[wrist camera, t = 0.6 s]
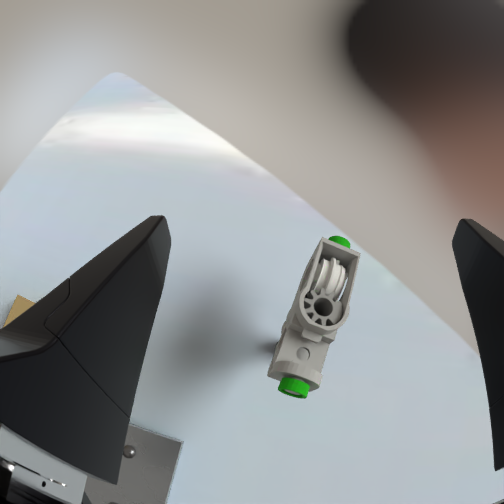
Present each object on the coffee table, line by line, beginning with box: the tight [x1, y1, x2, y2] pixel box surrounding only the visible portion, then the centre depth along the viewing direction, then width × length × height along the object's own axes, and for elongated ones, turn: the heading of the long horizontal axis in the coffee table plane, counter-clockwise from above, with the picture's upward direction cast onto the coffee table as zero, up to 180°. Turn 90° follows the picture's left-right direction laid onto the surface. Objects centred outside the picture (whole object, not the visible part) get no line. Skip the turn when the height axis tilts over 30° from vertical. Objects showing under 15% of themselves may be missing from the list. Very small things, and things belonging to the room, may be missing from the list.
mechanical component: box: [267, 236, 360, 398], centre depth 22 cm, size 3×10×10 cm, turn 159°
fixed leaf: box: [84, 423, 183, 504], centre depth 19 cm, size 18×10×4 cm, turn 167°
